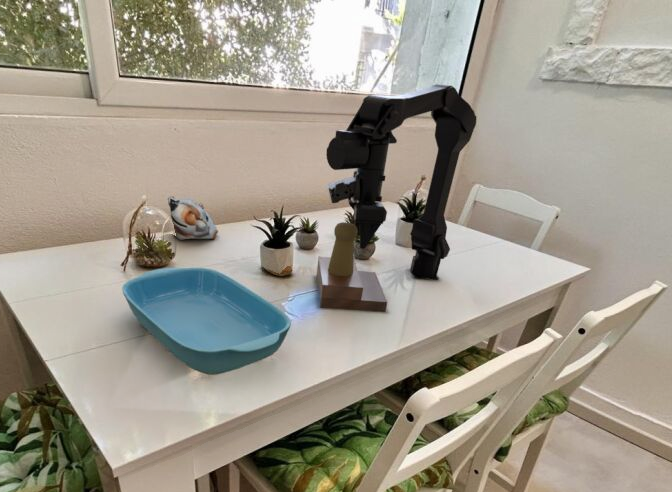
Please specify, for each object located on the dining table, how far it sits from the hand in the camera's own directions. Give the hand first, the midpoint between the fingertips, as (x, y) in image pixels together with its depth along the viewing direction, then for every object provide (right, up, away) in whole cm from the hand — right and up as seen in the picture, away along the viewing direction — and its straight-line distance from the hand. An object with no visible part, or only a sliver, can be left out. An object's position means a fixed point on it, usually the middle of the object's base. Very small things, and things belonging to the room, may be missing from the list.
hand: (360, 241), depth 105 cm
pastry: (-20, -3, +16) cm, 25 cm away
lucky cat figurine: (-45, +11, +31) cm, 56 cm away
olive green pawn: (-4, -6, +4) cm, 8 cm away
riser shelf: (-2, -10, +7) cm, 13 cm away
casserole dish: (-32, -23, -15) cm, 42 cm away
